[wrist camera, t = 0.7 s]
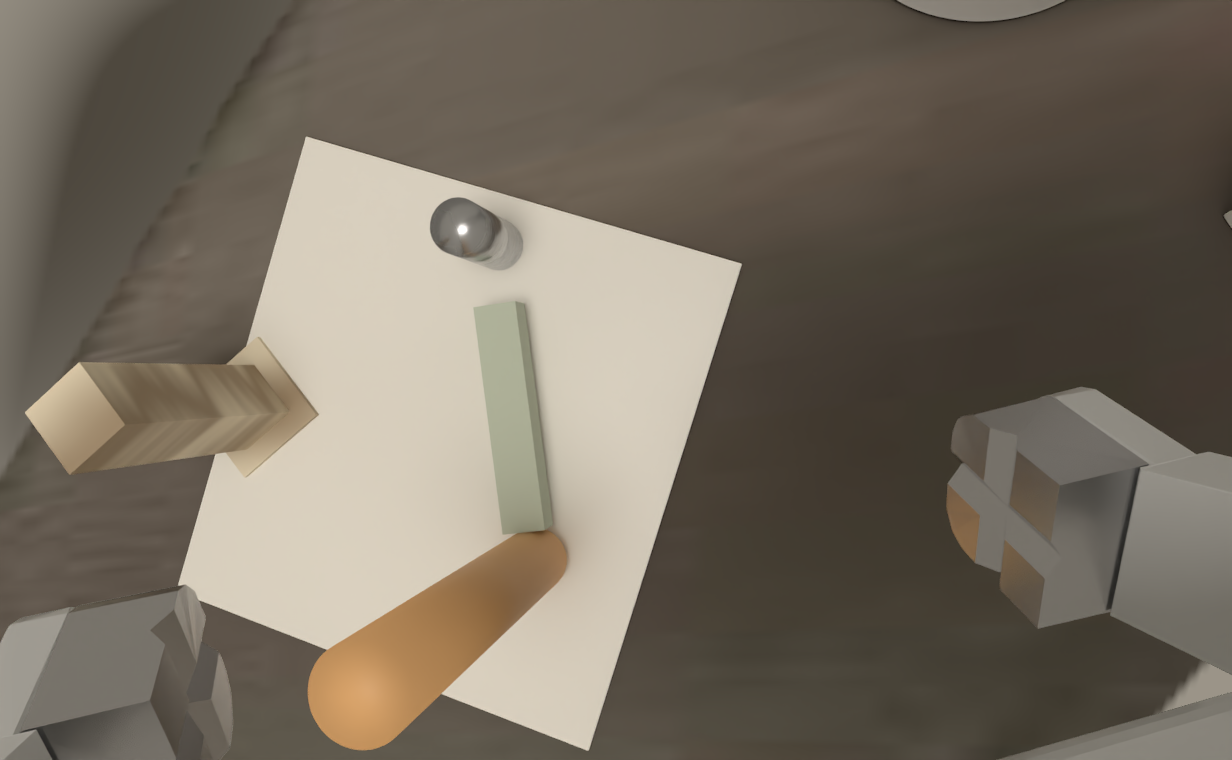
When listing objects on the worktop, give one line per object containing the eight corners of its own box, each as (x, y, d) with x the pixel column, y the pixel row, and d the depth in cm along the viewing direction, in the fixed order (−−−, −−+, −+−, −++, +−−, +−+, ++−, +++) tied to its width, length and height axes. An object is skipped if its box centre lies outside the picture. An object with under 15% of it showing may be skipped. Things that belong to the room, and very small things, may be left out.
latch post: (193, 399, 48) (-8, 408, 36) (263, 337, 48) (82, 324, 35) (250, 476, 48) (66, 512, 35) (322, 414, 47) (159, 428, 35)
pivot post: (483, 214, 45) (439, 190, 39) (529, 228, 45) (492, 206, 39) (468, 262, 46) (422, 245, 40) (514, 276, 45) (475, 261, 39)
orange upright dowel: (473, 311, 45) (253, 265, 26) (534, 302, 44) (355, 248, 26) (510, 593, 45) (315, 753, 26) (571, 587, 44) (418, 746, 25)
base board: (309, 138, 47) (306, 136, 47) (741, 264, 44) (741, 263, 43) (180, 589, 49) (176, 591, 48) (589, 748, 45) (588, 750, 45)
